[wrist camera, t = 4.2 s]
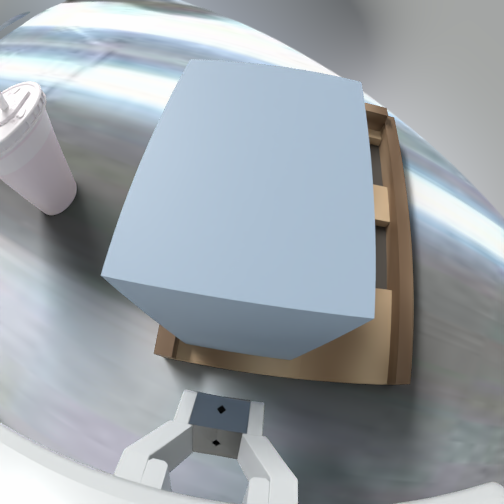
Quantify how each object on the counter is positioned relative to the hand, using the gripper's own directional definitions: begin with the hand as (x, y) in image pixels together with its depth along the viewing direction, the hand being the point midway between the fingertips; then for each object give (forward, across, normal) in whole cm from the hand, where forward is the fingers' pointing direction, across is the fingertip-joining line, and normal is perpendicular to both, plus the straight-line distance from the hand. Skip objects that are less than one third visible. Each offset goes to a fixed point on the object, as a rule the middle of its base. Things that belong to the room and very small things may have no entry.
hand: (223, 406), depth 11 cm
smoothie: (+13, +16, -3) cm, 21 cm away
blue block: (+9, 0, 0) cm, 9 cm away
